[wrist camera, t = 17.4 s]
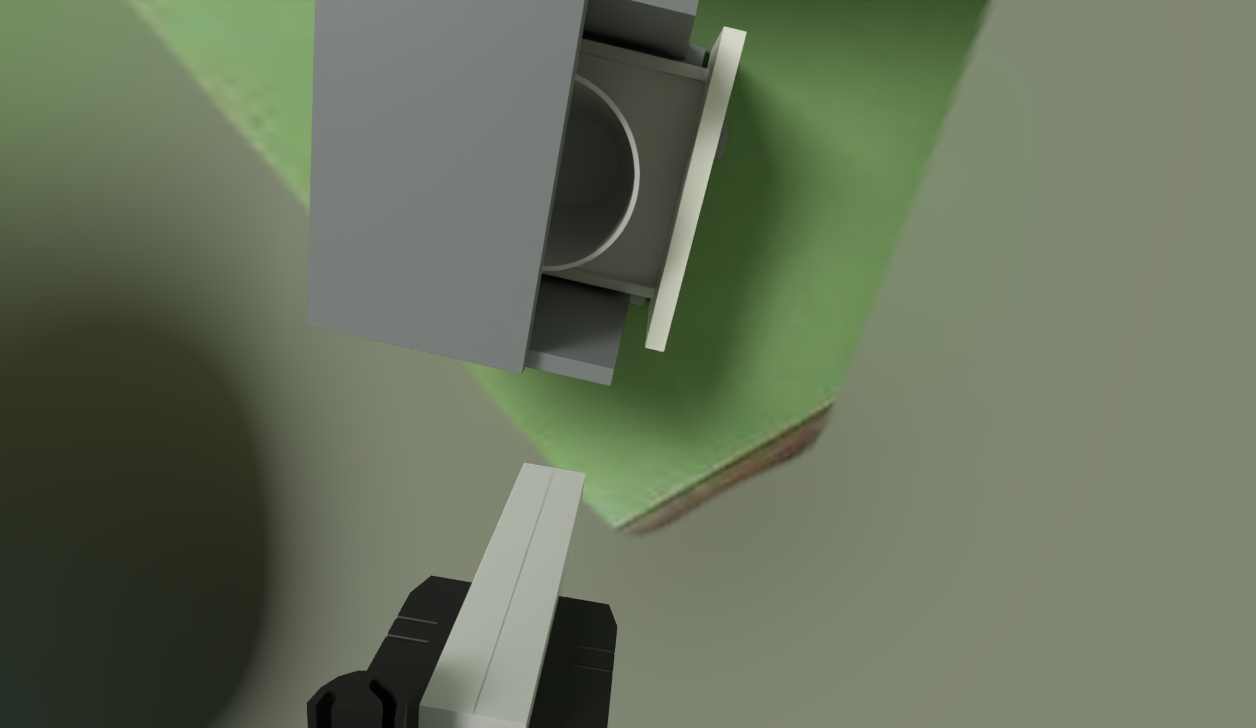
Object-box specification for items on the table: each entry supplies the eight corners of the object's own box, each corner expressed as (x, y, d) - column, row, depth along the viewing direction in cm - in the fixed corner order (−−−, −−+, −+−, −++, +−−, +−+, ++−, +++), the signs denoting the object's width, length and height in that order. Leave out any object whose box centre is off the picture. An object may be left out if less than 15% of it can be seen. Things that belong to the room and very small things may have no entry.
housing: (436, 255, 39) (307, 325, 25) (464, -9, 33) (318, -110, 19) (644, 303, 39) (632, 398, 25) (705, 49, 34) (732, -9, 20)
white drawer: (451, 260, 38) (400, 291, 31) (481, -6, 33) (427, -46, 26) (673, 311, 39) (674, 354, 31) (739, 56, 33) (760, 35, 26)
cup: (612, 256, 36) (593, 300, 27) (486, 199, 35) (421, 223, 26) (671, 123, 33) (672, 120, 24) (534, 57, 33) (481, 28, 23)
